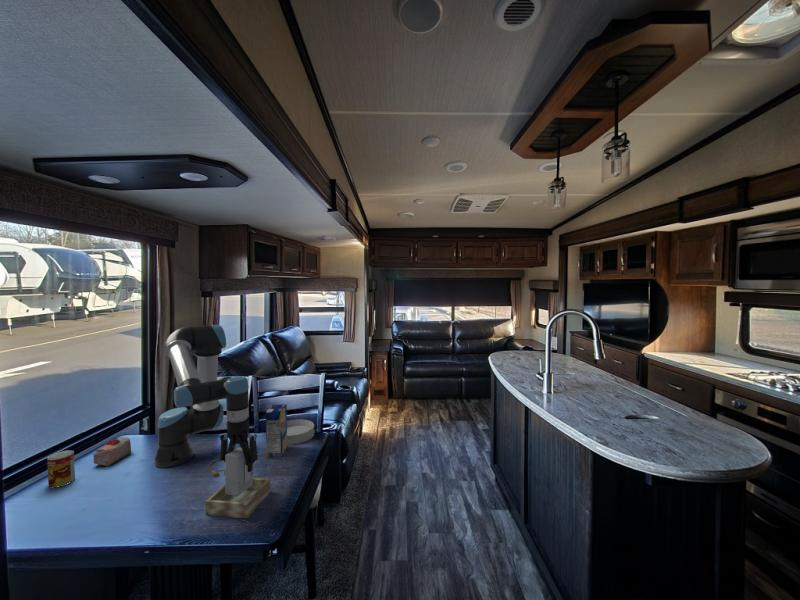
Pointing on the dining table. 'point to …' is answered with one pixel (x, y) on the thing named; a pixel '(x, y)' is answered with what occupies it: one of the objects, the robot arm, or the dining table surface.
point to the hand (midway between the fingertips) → (239, 479)
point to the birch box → (238, 500)
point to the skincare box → (236, 473)
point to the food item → (112, 451)
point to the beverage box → (276, 430)
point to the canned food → (61, 468)
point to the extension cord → (213, 470)
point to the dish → (299, 431)
